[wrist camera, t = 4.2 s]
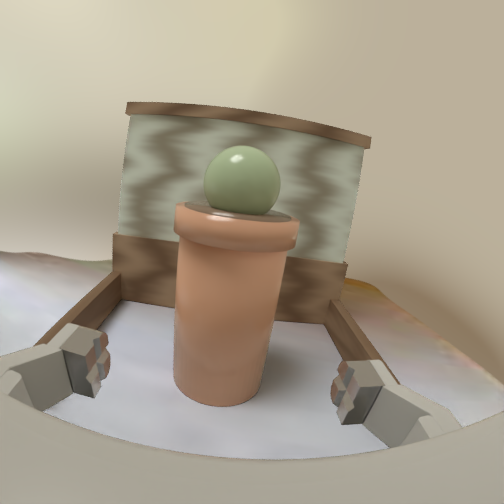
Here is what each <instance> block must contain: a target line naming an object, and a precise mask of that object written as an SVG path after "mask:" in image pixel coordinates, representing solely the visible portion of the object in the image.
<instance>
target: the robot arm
mask: <svg viewBox="0 0 504 504" xmlns="http://www.w3.org/2000/svg"><path fill="white" fill-rule="evenodd" d="M107 345H108V336H107V334H106V333H105V332H101V331H98V330H94V329H90V328H87V327H83V326H79V325H76V324H72V323H67V324H66V325H65V326H64V327H63V328H62V329H61V330H60V331H59V332H58V333H57V334H56V335H55V336H54V338H53V339H52V340H51V341H50V342H49V343H48V344H47V345H46V344H40V345H37V346H34V347H30V348H27V349H24V350H20V351H17V352H14V353H10V354H7V355H4V356H0V504H504V411H502V412H500V413H498V414H496V415H494V416H491V417H489V418H487V419H484V420H482V421H479V422H477V423H474V424H472V425H469V426H466V427H463V428H462V426H461V425H460V424H459V422H458V421H457V420H456V418H455V417H454V416H453V414H452V413H451V412H450V410H449V409H447V408H445V407H443V406H441V405H439V404H437V403H435V402H433V401H431V400H430V399H428V398H426V397H424V396H422V395H420V394H418V393H416V392H414V391H413V390H411V389H409V388H407V387H405V386H403V385H398V384H397V382H396V381H395V379H394V378H393V377H392V375H391V374H390V372H389V371H388V369H387V368H386V367H385V365H384V364H383V362H382V361H381V360H379V359H378V360H365V361H342V362H341V363H340V365H339V367H338V372H339V375H338V376H337V377H336V378H335V379H334V380H333V383H332V386H331V399H332V402H333V404H334V405H336V406H337V407H338V410H337V412H336V413H337V415H338V418H339V420H340V423H341V425H350V424H362V425H364V426H365V427H366V428H367V429H368V430H369V431H371V432H372V433H373V434H374V435H375V436H376V437H378V438H379V439H380V440H381V441H382V442H383V443H385V444H386V445H387V446H388V447H389V448H388V449H383V450H377V451H372V452H366V453H359V454H352V455H344V456H335V457H324V458H310V459H283V460H266V459H239V458H225V457H214V456H205V455H197V454H189V453H183V452H176V451H171V450H165V449H160V448H155V447H150V446H145V445H141V444H137V443H133V442H129V441H125V440H121V439H117V438H114V437H110V436H107V435H104V434H100V433H97V432H94V431H91V430H88V429H85V428H82V427H79V426H76V425H74V424H71V423H68V422H66V421H63V420H61V419H58V418H56V417H53V416H51V415H48V414H46V413H44V412H42V411H44V410H46V409H48V408H49V407H51V406H53V405H54V404H56V403H58V402H60V401H61V400H63V399H65V398H66V397H68V396H70V395H71V394H73V392H74V393H77V394H81V395H84V396H88V397H91V398H95V397H96V395H97V393H98V391H99V389H100V388H101V382H100V381H101V380H103V379H105V378H106V377H107V375H108V373H109V369H110V353H109V352H108V351H107V349H106V346H107Z"/></svg>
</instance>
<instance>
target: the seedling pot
mask: <svg viewBox="0 0 504 504" xmlns="http://www.w3.org/2000/svg"><path fill="white" fill-rule="evenodd" d="M280 186H281V181H280V174H279V171H278V169H277V166H276V165H275V163H274V162H273V160H272V159H271V158H270V157H269V156H268V155H267V154H266V153H264V152H263V151H261V150H259V149H257V148H254V147H251V146H234V147H230V148H227V149H225V150H223V151H222V152H220V153H218V154H217V155H216V156H215V157H214V158H213V159H212V160H211V162H210V163H209V165H208V167H207V169H206V171H205V175H204V181H203V187H204V193H205V196H206V199H207V201H186V202H179V203H177V204H176V208H175V218H174V228H173V230H174V232H175V233H176V234H177V235H179V236H180V238H179V249H178V262H177V277H176V294H175V316H174V359H173V375H174V381H175V383H176V385H177V387H178V388H179V390H180V391H181V392H182V393H184V394H185V395H186V396H187V397H189V398H191V399H192V400H195V401H197V402H199V403H202V404H206V405H210V406H220V407H224V406H234V405H238V404H241V403H244V402H246V401H248V400H249V399H251V398H252V397H253V396H254V395H255V394H256V393H257V391H258V389H259V387H260V383H261V378H262V374H263V369H264V365H265V360H266V356H267V351H268V346H269V342H270V337H271V332H272V328H273V323H274V318H275V313H276V308H277V303H278V298H279V293H280V288H281V283H282V277H283V272H284V267H285V262H286V256H287V251H288V250H291V249H293V248H294V247H295V246H296V241H297V235H298V230H299V224H300V221H299V220H298V219H297V218H295V217H292V216H290V215H287V214H284V213H281V212H278V211H274V210H270V209H271V208H272V207H273V205H274V204H275V202H276V201H277V199H278V196H279V193H280Z"/></svg>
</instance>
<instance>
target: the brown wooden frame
mask: <svg viewBox="0 0 504 504" xmlns="http://www.w3.org/2000/svg"><path fill="white" fill-rule="evenodd" d="M125 113H126V114H127V115H129V116H131V117H130V122H129V129H128V134H127V141H126V149H125V157H124V164H123V172H122V183H121V193H120V206H119V223H118V232H116V233H114V234H113V272H111V273H110V274H109V275H108V276H107V277H106V278H105V279H103V280H102V281H101V282H100V283H99V284H98V285H97V286H96V287H94V288H93V289H92V290H91V291H90V292H89V293H88V294H87V295H86V296H85V297H83V298H82V299H81V300H80V301H79V302H78V303H77V304H76V305H75V306H74V307H73V308H72V309H71V310H69V311H68V312H67V313H66V314H65V315H64V316H63V317H62V318H61V319H60V320H59V321H58V322H57V323H56V324H55V325H54V326H53V327H52V328H51V329H50V330H49V331H48V332H47V333H46V334H45V335H44V336H43V337H42V338H41V339H40V340H39V341H38V342H37V343H36V344H35V345H34V346H37V345H40V344H46V345H47V344H48V343H49V342H50V341H51V340H52V339H53V338H54V336H55V335H56V334H57V333H58V332H59V331H60V330H61V329H62V328H63V327H64V326H65V325H66V324H67V323H72V324H76V325H79V326H83V327H87V328H90V329H94V330H97V328H98V327H99V326H100V325H101V323H102V322H103V321H104V320H105V318H106V317H107V316H108V315H109V314H110V312H111V311H112V310H113V309H114V307H115V306H116V305H117V304H118V303H119V301H120V300H121V299H124V300H130V301H135V302H141V303H147V304H153V305H159V306H165V307H172V308H175V294H176V277H177V262H178V249H179V238H180V236H179V235H177V234H176V233H175V232H174V230H173V228H174V218H175V208H176V204H177V203H179V202H186V201H207V199H206V196H205V193H204V187H203V181H204V175H205V171H206V169H207V167H208V165H209V163H210V162H211V160H212V159H213V158H214V157H215V156H216V155H217V154H218V153H220V152H222V151H223V150H225V149H227V148H230V147H234V146H251V147H254V148H257V149H259V150H261V151H263V152H264V153H266V154H267V155H268V156H269V157H270V158H271V159H272V160H273V162H274V163H275V165H276V166H277V169H278V171H279V174H280V181H281V186H280V193H279V196H278V199H277V201H276V202H275V204H274V205H273V207H272V208H271V209H270V210H274V211H278V212H281V213H284V214H287V215H290V216H292V217H295V218H297V219H298V220H299V221H300V224H299V230H298V235H297V241H296V246H295V247H294V248H293V249H291V250H288V251H287V256H286V262H285V267H284V272H283V277H282V283H281V288H280V293H279V298H278V303H277V308H276V313H275V318H274V320H279V321H290V322H303V323H317V324H324V325H325V327H326V329H327V331H328V333H329V334H330V336H331V338H332V340H333V342H334V344H335V346H336V347H337V349H338V351H339V353H340V355H341V357H342V359H343V360H344V361H365V360H378V359H379V360H381V361H382V362H383V364H384V365H385V367H386V368H387V369H388V371H389V372H390V374H391V375H392V377H393V378H394V379H395V381H396V382H397V384H398V385H401V384H400V383H399V381H398V380H397V379H396V377H395V376H394V374H393V373H392V371H391V370H390V369H389V367H388V366H387V364H386V363H385V362H384V360H383V359H382V357H381V356H380V355H379V353H378V352H377V350H376V349H375V348H374V346H373V345H372V344H371V342H370V341H369V339H368V338H367V337H366V335H365V334H364V333H363V331H362V330H361V329H360V327H359V326H358V325H357V323H356V322H355V321H354V319H353V318H352V317H351V315H350V314H349V313H348V311H347V310H346V309H345V307H344V306H343V305H342V303H341V302H340V301H339V298H340V294H341V291H342V287H343V283H344V279H345V275H346V270H347V267H348V264H347V263H346V262H344V257H345V253H346V248H347V243H348V238H349V234H350V229H351V224H352V219H353V214H354V209H355V203H356V197H357V192H358V186H359V180H360V174H361V167H362V161H363V154H364V149H369V148H370V144H371V137H369V136H366V135H362V134H359V133H355V132H352V131H348V130H344V129H340V128H336V127H333V126H328V125H324V124H320V123H315V122H311V121H306V120H301V119H297V118H292V117H287V116H281V115H276V114H270V113H264V112H257V111H251V110H244V109H236V108H228V107H219V106H209V105H208V106H207V105H196V104H182V103H163V102H127V108H126V112H125ZM34 346H33V347H34Z"/></svg>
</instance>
